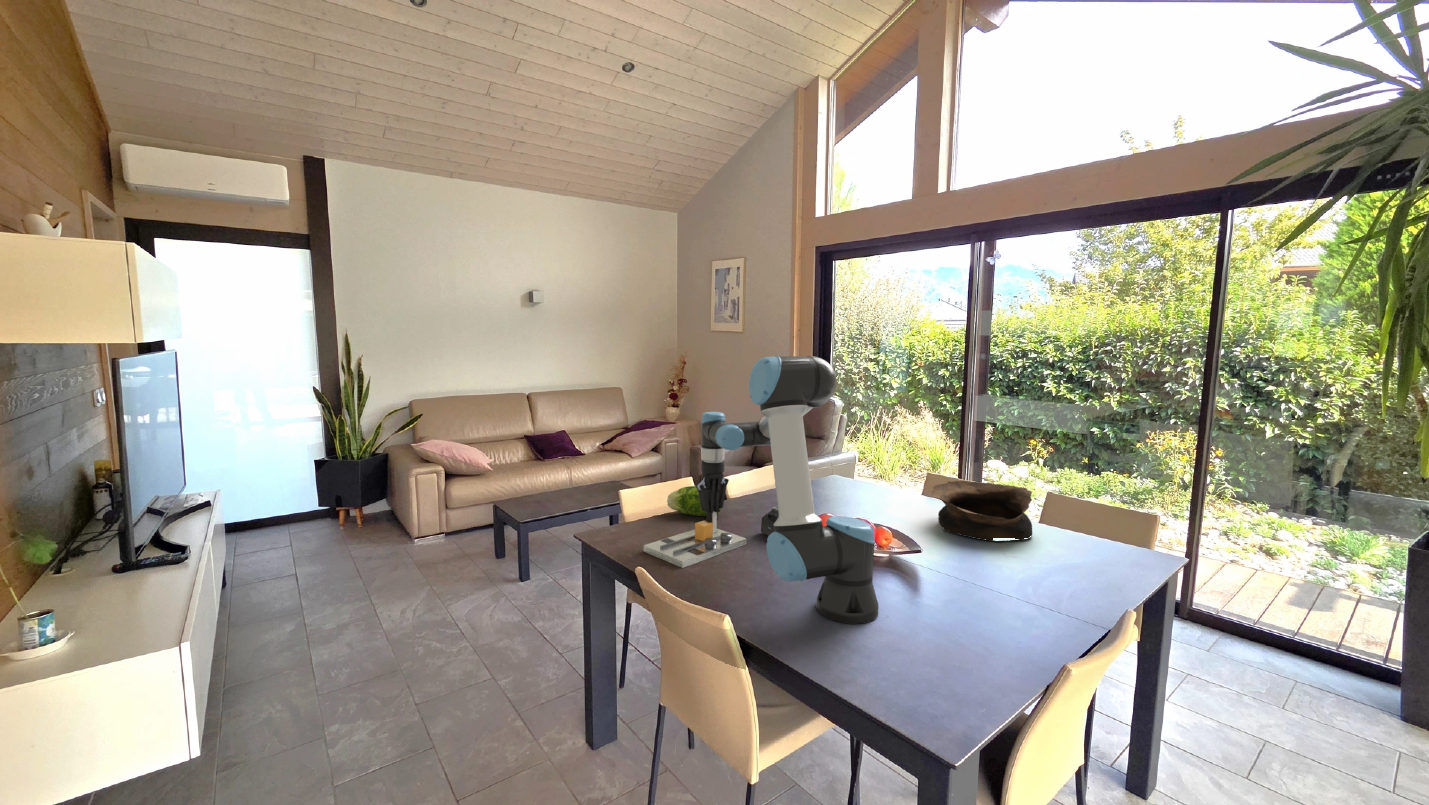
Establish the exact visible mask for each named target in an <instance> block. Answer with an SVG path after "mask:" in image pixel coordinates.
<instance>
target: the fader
mask: <svg viewBox="0 0 1429 805" xmlns="http://www.w3.org/2000/svg"><path fill="white" fill-rule="evenodd" d="M694 529H695V539H698V540H701V541H705V539H706V538H712V535H713V523H710V522H707V520H702V521H698V522H696V523H694Z"/></svg>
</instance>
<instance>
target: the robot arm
mask: <svg viewBox="0 0 1429 805" xmlns="http://www.w3.org/2000/svg"><path fill="white" fill-rule="evenodd" d="M833 368H834V367H832V365H830V363H829V362H828V361H827V360H825V359H823V358H821V357H818V356H812V355H806V356H805V355H804V356H802V355H801V356H800V355H799V356H798V355H797V356H794V355H793V356H791V355H789V356H788V355H781V356H780V355H774V356H765V357H762V358H759V359H758V360H757V361H756V362H755V363H754V365H753V367H752V369H751V372H750V375H749V380H748V393H749V397H750V398H751V402H752V403H753V404H755V405H757V406H760V409H759V410H760V414H761V415H763V416H762V417H761V418H760V419H759V420H758V421H747V422H746V421H744V422H743V421H742V422H727V421H726V415H725V413H724V412H721V411H705V412H703V413H702V415H701V423H700V425H701V427H700V428H701V430H700V432H701V434H700V435H701V437H700V438H701V443H700V444H701V449H700V450H701V457H700V459H701V461H700V471H701V473H702V477H701V482H699V483H696V484H695V486H696V488H697V489H698V493H699V498H700V504H701V509H702V511H704V512H706V513H707V516H706V521H707V522H710V523H713V533H714V532H717V529H718V528H717V524H718V523H717V521H718V520H719V516H718V515H719V514H718V512H720V513H721V510H722V509H723V507H724V502H725V496H726V491H727V486H728V484H729V481H730V480H729V478H726V477H724V473H725V460H726V459H725V458H726V457H725V456H726V455H725V452H726V451H735V450H738V449H739V448H747V447H748V448H749V447H757V446H758V447H759V446H760V447H761V446H770V450H771V458H772V465H773V466H772V467H773V468H772V470H773V476H774V477H773V478H774V483H775V484H774V485H775V493H776V501H777V502H776V503H777V507H778V512H779V517H778V519H777V520H776V522H775V523H774V532H773V533H772V534H770V535H769V536H768V535H767V539H766V541H767V542H766V553H767V557H768V561H769V563H770V566H771V568H772V569H773V571H774V572H775V574H776V575H777V576H778V577H779V578H780V579H781V580H783V581H785V582H789V583H790V582H803V581H806V580H810V579H816V578H822V577H824V578H823V582H822V584H821V586H820V589H819V591H818V594H817V596H816V610H817V612H818V613H819V614H820V615H822V616H823V617H825V618H827V619H829V620H831V621H834V622H836V623H837V622H838V623H843V624H850V625H851V624H852V625H856V624H857V625H858V624H859V623H861V624H866V623H870V622H872V621H874V620H875V619H877V618H878V617H879V616H878V615H879V608H880V607H879V602H878V598H877V595H876V591H875V587H874V584H873V574H874V555H875V554H874V553H875V545H876V540H875V530H874V527H873V525H871V524H870V523H869V522H867V521H865V520H862V519H860V518H854V517H850V516H843V515H832V516H829V517H828V518H827V519H826V520H825V524H826V525H823V520H822V518H821V517H819V516H818V515H817V514H816V513H815V506H814V497H813V491H812V490H813V489H812V480H811V474H810V473H811V471H810V465H809V458H808V457H809V456H808V449H807V441H806V433H805V425H804V416H805V415H806V414H808V412H810V411H811V410H812V409H814V408H815V409H816V408H820V407H823V405H824V404H826V403H827V402H829V400H830V399H831V398H832V397H833V395H834V394H835V392H836V389H837V382H838V381H837V375H836V373H835V370H834V369H833ZM720 508H721V510H719V509H720Z"/></svg>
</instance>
